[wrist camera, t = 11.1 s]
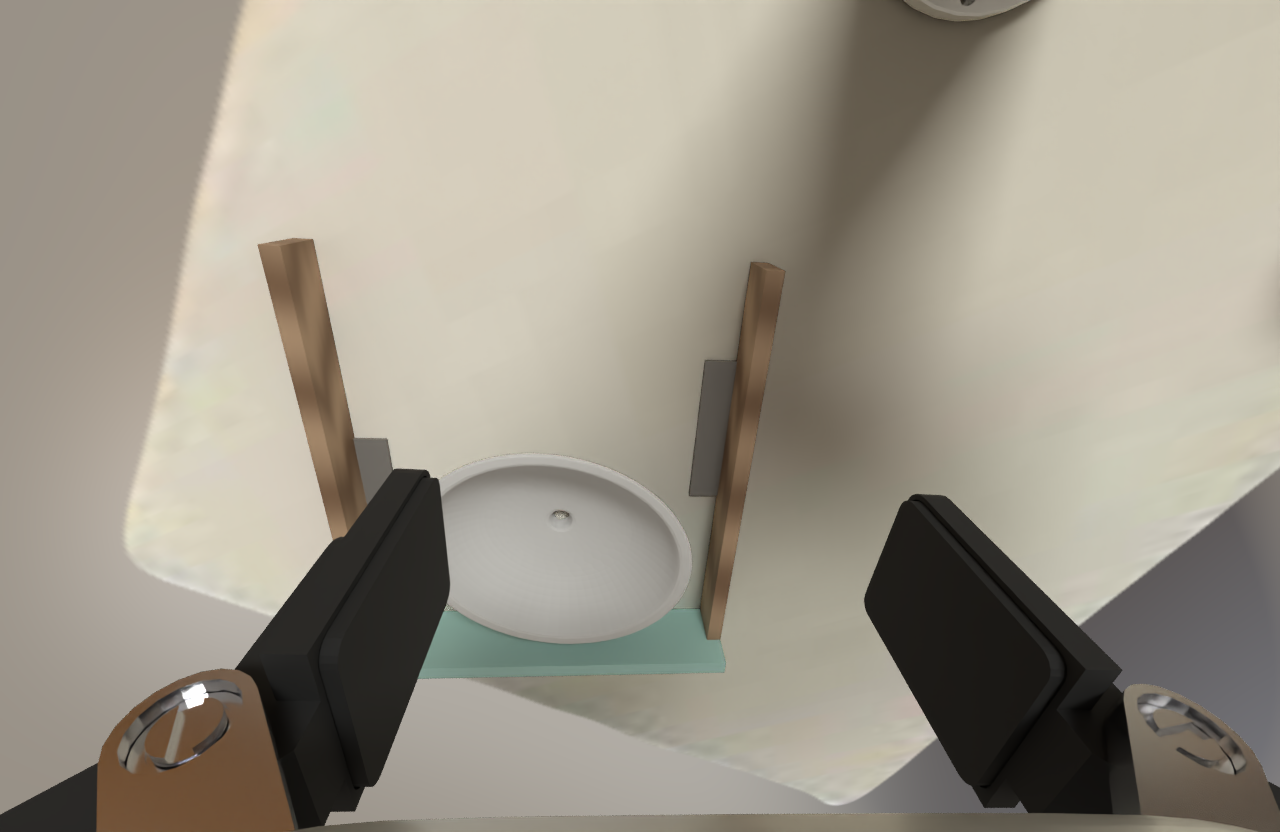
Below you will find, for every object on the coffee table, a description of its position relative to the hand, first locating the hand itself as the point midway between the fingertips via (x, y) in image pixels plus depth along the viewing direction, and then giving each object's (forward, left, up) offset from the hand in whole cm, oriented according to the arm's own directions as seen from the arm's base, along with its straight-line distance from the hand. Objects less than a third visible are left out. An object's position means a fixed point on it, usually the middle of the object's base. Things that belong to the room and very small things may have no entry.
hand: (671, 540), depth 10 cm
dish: (+15, -4, -21) cm, 26 cm away
